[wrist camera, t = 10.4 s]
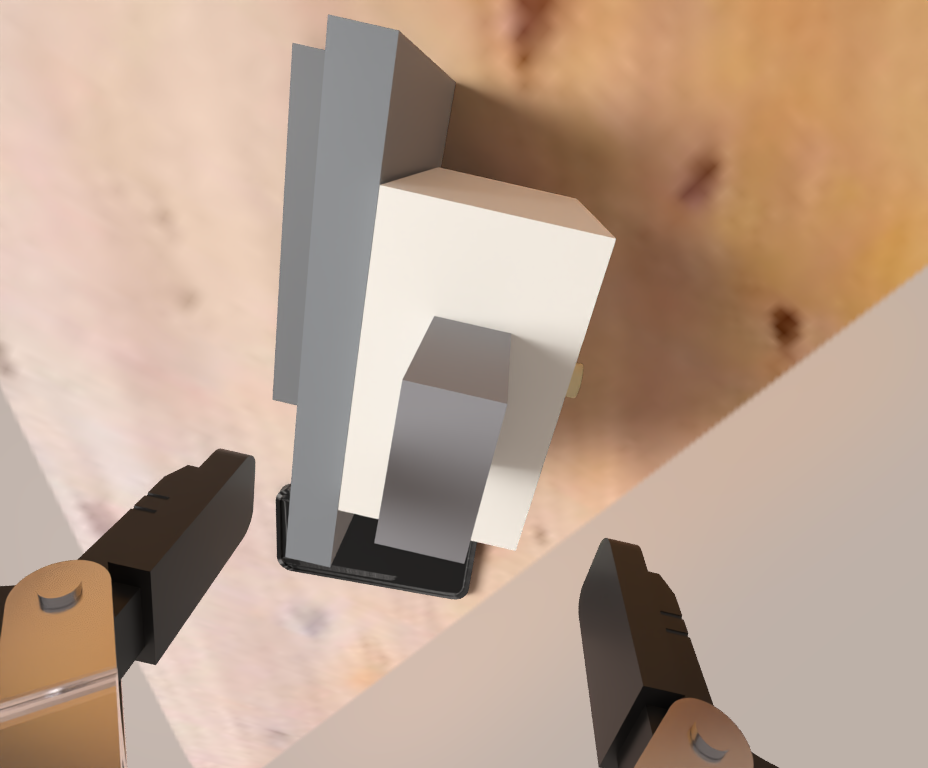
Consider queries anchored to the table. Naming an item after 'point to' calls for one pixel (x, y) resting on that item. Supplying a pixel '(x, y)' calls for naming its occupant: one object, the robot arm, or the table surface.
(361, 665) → the table surface
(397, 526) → the cabinet
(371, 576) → the phone
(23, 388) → the table surface
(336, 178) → the wall board
